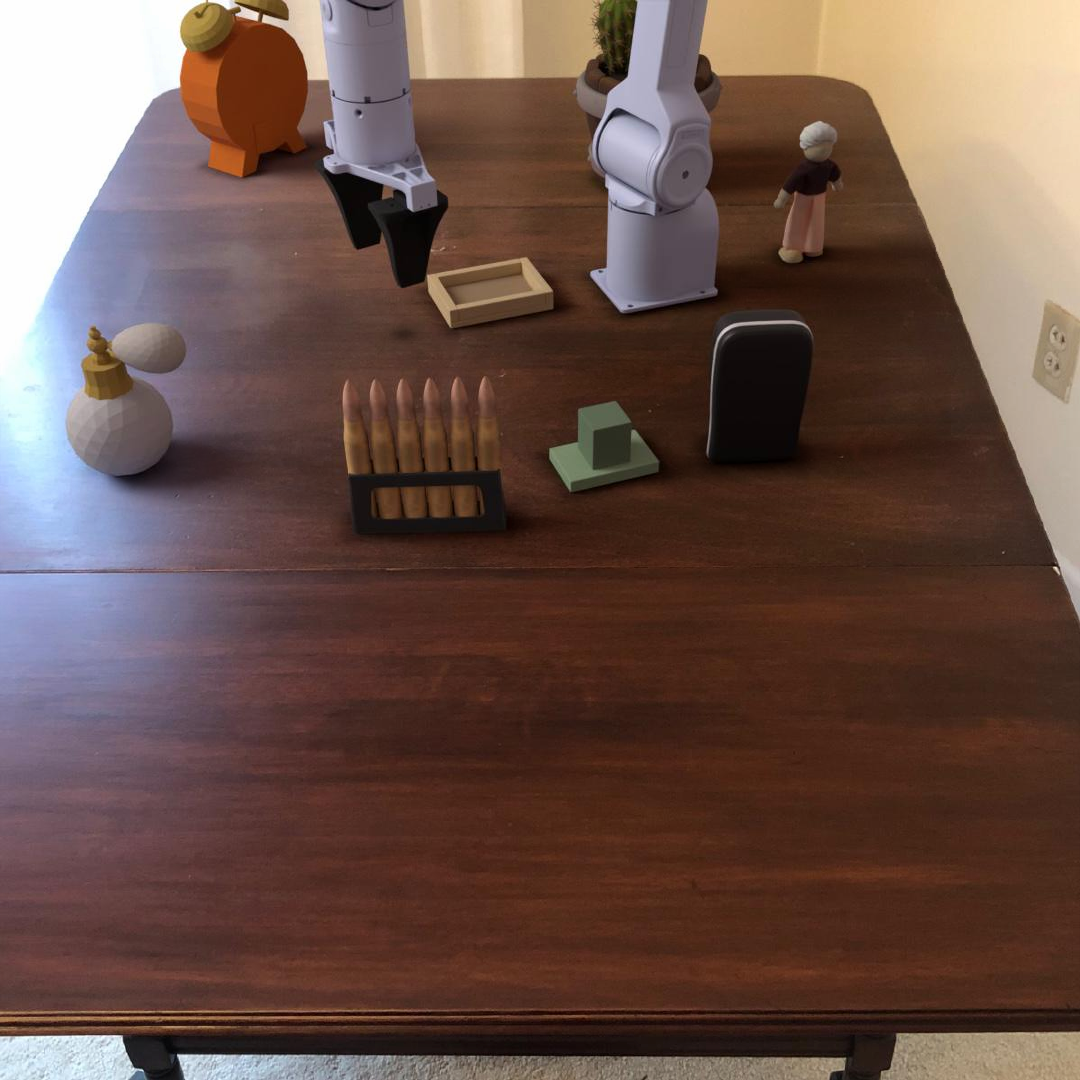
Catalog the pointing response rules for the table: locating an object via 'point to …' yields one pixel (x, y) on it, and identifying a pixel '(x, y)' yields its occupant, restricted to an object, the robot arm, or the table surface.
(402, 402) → the ammunition clip
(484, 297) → the socket pad
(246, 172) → the alarm clock
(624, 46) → the flowerpot
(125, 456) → the perfume bottle
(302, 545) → the table surface
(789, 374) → the battery charger
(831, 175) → the grandmother figurine
